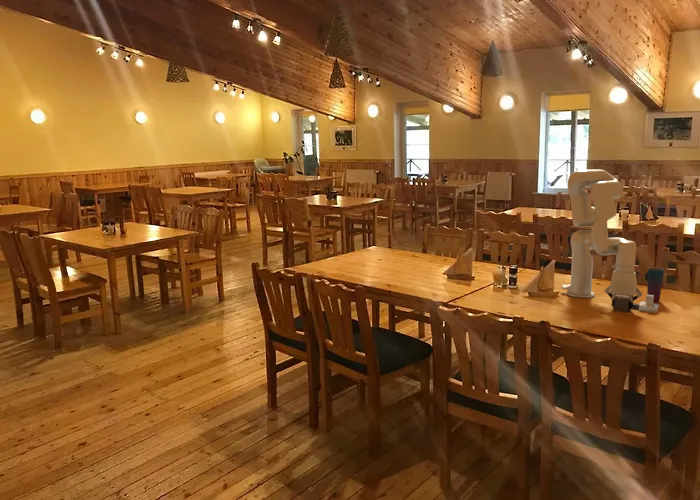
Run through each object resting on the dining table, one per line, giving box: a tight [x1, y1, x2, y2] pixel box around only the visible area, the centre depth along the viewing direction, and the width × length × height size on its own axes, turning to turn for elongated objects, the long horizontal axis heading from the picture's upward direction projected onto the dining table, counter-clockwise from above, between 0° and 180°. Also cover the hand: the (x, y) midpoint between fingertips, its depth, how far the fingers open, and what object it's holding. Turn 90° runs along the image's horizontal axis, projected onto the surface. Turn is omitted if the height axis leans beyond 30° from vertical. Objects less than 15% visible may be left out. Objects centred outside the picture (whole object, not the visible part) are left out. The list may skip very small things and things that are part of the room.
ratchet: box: [632, 294, 660, 314], centre depth 262 cm, size 18×7×6 cm, turn 57°
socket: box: [613, 295, 630, 313], centre depth 259 cm, size 6×6×6 cm
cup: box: [646, 267, 665, 303], centre depth 272 cm, size 7×7×15 cm
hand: (622, 308), depth 259 cm, fingers closed on socket, 5 cm apart
